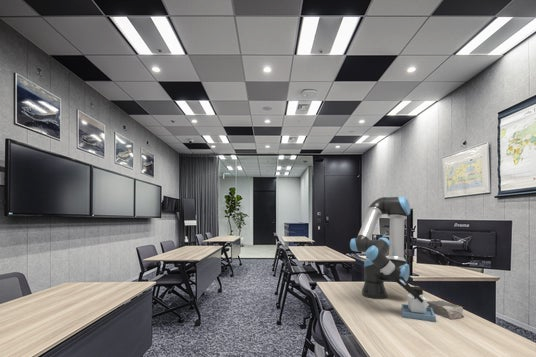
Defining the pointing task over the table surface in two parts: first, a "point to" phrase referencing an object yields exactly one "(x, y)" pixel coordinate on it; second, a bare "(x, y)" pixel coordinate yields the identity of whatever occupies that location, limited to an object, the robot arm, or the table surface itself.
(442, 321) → the table surface
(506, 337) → the table surface
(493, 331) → the table surface
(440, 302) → the geological specimen
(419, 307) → the medicine bottle
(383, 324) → the table surface
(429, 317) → the tray
